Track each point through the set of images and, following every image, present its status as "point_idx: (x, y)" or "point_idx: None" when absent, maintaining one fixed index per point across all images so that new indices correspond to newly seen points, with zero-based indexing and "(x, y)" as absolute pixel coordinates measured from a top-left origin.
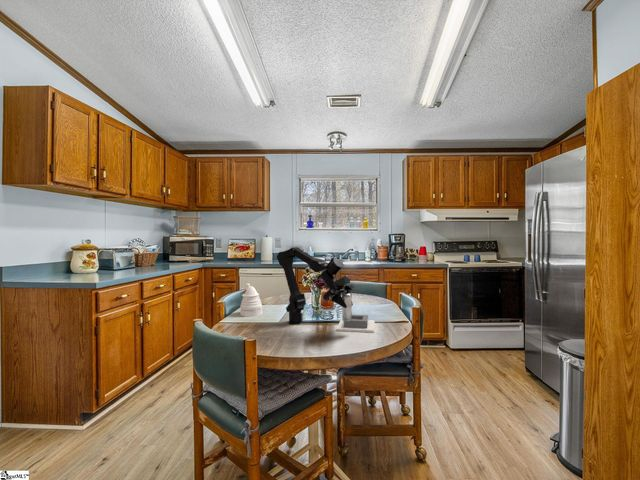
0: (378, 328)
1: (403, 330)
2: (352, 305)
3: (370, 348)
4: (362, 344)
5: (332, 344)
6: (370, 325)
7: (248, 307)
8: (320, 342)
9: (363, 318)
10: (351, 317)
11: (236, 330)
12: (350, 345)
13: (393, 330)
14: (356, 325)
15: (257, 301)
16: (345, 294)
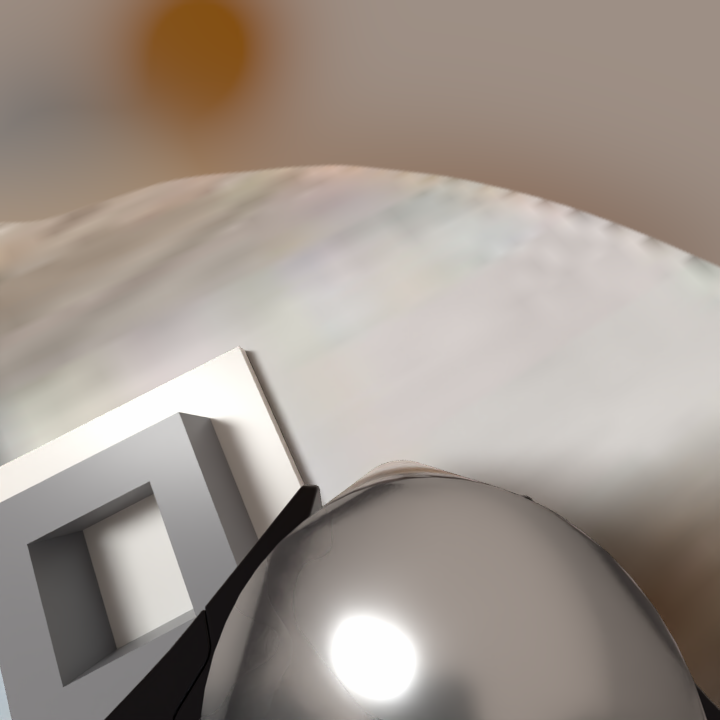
0: (135, 371)
1: (103, 217)
2: (313, 490)
3: (541, 215)
4: (514, 289)
5: (670, 463)
6: (128, 433)
7: None
8: (711, 578)
9: (108, 492)
10: (390, 462)
11: None
12: (588, 342)
13: (132, 266)
14: (235, 505)
15: None
16: (643, 700)
